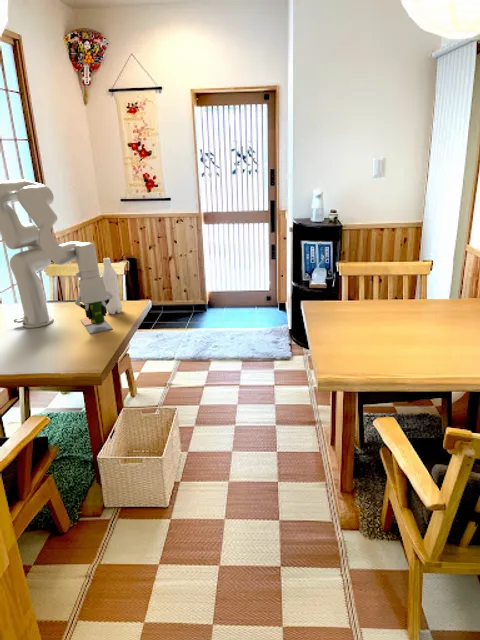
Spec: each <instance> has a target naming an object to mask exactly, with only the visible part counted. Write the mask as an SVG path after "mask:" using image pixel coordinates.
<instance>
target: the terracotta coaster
mask: <svg viewBox="0 0 480 640" xmlns="http://www.w3.org/2000/svg"><path fill="white" fill-rule="evenodd" d="M104 320H105V321H104V323H105V322H107V320H106V319H105V318H104ZM80 322H81V323H82V325H83V326H84V327H86V326H91V325H92V323H91V319H90V320H89V318H88V317H86V318H85V317H84V318H81V319H80Z"/></svg>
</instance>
